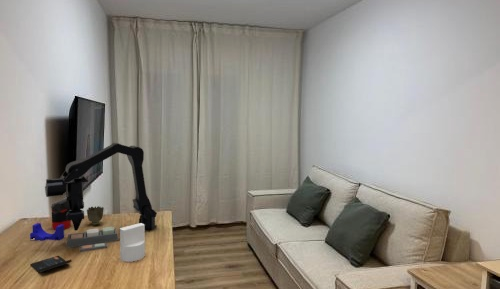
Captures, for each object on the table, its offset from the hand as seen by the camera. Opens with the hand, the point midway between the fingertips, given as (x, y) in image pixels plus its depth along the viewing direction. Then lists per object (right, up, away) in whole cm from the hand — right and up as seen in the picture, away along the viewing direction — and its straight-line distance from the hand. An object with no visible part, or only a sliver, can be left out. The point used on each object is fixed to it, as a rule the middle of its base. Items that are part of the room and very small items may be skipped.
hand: (76, 230), depth 137 cm
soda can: (-16, -3, +17) cm, 24 cm away
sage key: (+11, -3, +6) cm, 13 cm away
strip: (+9, -6, -4) cm, 12 cm away
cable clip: (-14, -5, +4) cm, 16 cm away
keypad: (+5, -6, +3) cm, 8 cm away
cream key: (+5, -4, +3) cm, 7 cm away
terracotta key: (0, -5, +1) cm, 5 cm away
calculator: (+1, -8, -19) cm, 21 cm away
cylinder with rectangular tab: (+27, -8, -10) cm, 30 cm away
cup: (-3, -3, +23) cm, 23 cm away
